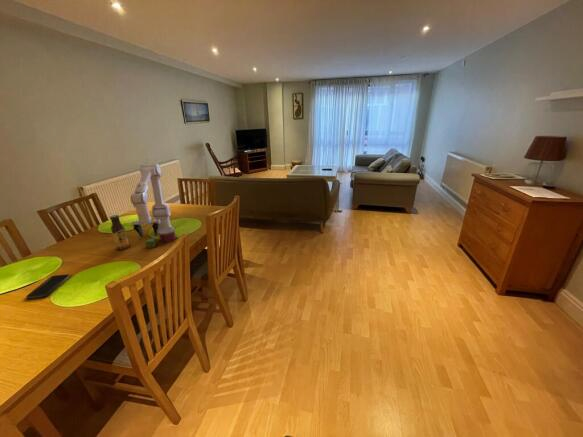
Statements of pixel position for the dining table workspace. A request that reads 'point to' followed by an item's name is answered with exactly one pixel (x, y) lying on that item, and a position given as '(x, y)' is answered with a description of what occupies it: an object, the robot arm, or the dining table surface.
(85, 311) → the dining table surface
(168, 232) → the jar
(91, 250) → the dining table surface
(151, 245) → the block
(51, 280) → the phone
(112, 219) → the sauce bottle
